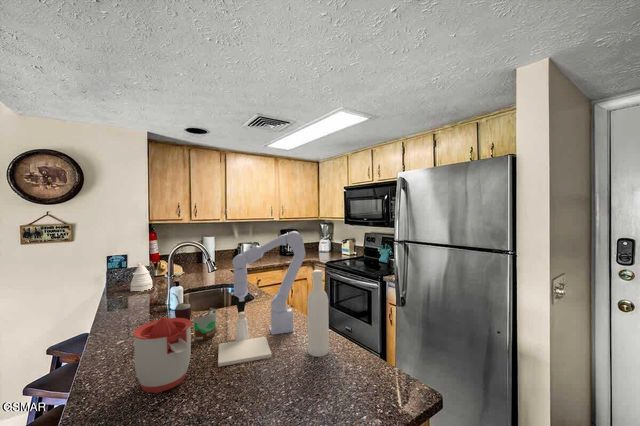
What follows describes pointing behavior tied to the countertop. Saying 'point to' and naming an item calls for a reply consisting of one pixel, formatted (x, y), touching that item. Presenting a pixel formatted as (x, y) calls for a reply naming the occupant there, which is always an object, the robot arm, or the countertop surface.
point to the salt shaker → (242, 327)
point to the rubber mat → (243, 351)
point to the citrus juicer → (162, 353)
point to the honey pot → (141, 279)
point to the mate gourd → (182, 310)
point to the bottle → (318, 318)
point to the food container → (205, 325)
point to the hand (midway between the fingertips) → (241, 313)
